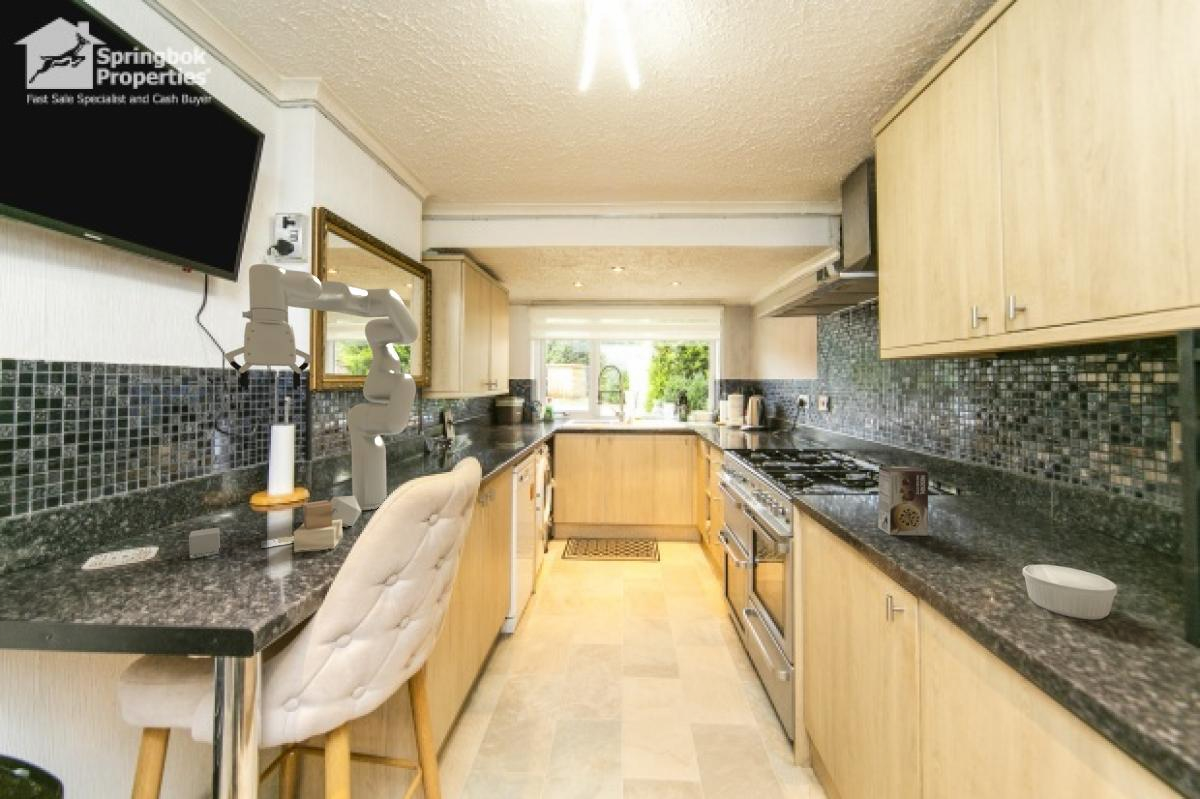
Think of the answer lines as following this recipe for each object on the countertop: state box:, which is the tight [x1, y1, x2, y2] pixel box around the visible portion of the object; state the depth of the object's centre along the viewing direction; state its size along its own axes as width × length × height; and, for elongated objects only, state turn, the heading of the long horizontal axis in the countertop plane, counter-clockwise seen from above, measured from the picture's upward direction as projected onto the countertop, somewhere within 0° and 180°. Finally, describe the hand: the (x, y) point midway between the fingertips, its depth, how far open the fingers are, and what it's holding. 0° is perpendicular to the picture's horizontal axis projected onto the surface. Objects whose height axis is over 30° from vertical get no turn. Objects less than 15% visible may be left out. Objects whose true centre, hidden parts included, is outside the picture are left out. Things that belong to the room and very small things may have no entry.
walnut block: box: [302, 499, 332, 530], centre depth 112 cm, size 5×5×5 cm
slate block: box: [188, 527, 221, 555], centre depth 107 cm, size 5×5×5 cm
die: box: [329, 495, 363, 527], centre depth 127 cm, size 8×9×10 cm
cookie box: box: [877, 466, 929, 536], centre depth 120 cm, size 9×6×16 cm
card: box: [273, 535, 294, 543], centre depth 114 cm, size 6×8×1 cm
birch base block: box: [293, 519, 344, 552], centre depth 112 cm, size 8×8×5 cm
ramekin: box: [1022, 564, 1119, 620], centre depth 80 cm, size 11×11×5 cm
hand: (271, 390), depth 115 cm, fingers open, 9 cm apart
